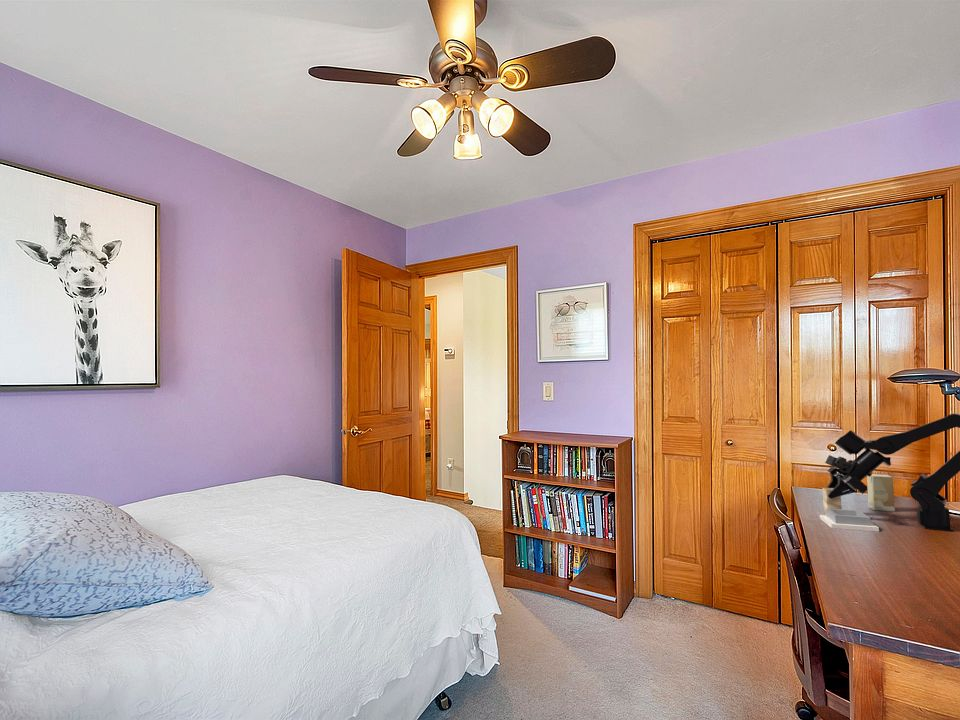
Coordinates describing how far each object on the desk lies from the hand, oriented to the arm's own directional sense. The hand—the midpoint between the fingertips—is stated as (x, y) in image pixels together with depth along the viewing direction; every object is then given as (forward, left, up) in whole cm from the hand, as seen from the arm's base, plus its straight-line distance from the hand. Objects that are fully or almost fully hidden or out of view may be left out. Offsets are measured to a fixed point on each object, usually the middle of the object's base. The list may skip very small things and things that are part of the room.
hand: (826, 495), depth 159 cm
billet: (-1, 0, -7) cm, 7 cm away
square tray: (-3, +10, -7) cm, 13 cm away
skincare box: (-18, -16, -7) cm, 25 cm away
